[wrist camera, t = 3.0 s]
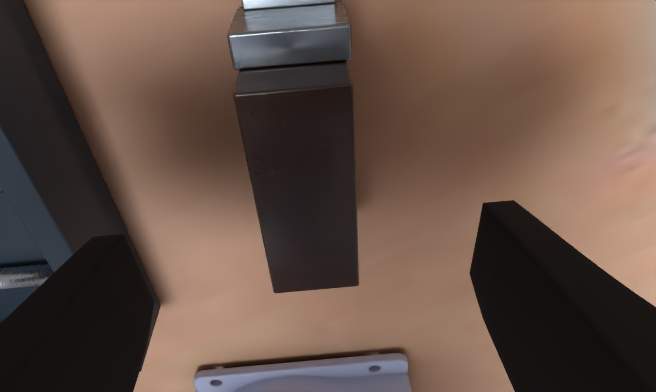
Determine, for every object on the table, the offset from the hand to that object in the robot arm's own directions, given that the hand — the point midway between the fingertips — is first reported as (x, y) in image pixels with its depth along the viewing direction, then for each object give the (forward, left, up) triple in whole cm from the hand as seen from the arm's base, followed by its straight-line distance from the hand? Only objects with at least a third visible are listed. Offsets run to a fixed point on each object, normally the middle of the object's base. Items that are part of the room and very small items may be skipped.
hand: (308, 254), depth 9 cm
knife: (0, -3, -5) cm, 6 cm away
